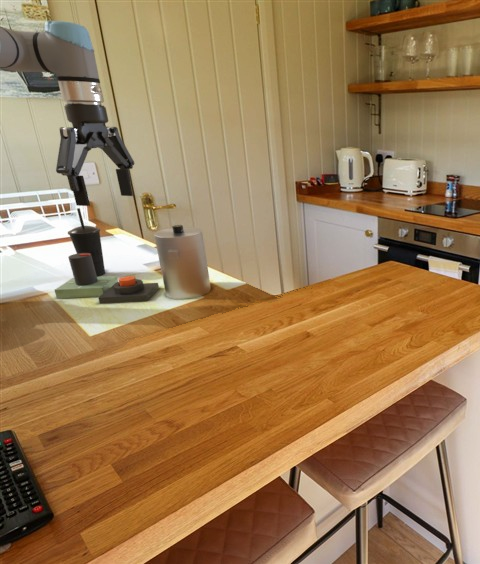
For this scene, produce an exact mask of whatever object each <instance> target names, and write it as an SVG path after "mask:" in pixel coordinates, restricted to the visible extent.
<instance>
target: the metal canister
mask: <svg viewBox="0 0 480 564" xmlns="http://www.w3.org/2000/svg"><path fill="white" fill-rule="evenodd" d="M153 235H154V241H155V246H156V252H157V257H158V262H159V266H160V270H161V276H162V282H163V288H164V291H165V296H166V297H167V298H169V299H172V300H173V299H174V300H187V299H195V298H198V297H202V296H204V295H206V294H208V293H209V292H210V291H211V290H212V285H211V280H210V274H209V273H210V272H209V267H208V260H207V253H206V248H205V242H204V235H203V229H201V228H199V227H194V226H183V225H182V224H175V225H174V224H173V225H172V226H171V227H169V228H164V229H161V230H158V231H156V232H154V234H153Z"/></svg>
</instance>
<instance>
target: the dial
mask: <svg viewBox="0 0 480 564" xmlns="http://www.w3.org/2000/svg"><path fill="white" fill-rule="evenodd" d="M68 261H69V265H70V268H71V271H72V276H73V278H74V279H75V283H76V285H90V284H93V283H96V282H97V281H98V280H97V276H96V272H95V268H94V264H93V260H92V256H91V254H90V253H78V254H77V253H73V254H71V255H68Z"/></svg>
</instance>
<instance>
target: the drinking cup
mask: <svg viewBox="0 0 480 564" xmlns="http://www.w3.org/2000/svg"><path fill="white" fill-rule="evenodd" d="M76 211H77V214H78V215H77V216H78V220H79V222H80V226H77V227H76V226H75V227H74V228H72V229H70V230H68V231H67V235H69V237H70V240H71V242H72V245H73V247H74V250H75V252H76V253H75V254H78V253H90V254H91V256H92V260H93V264H94V268H95V272H96V276H97V277H103V276H105V275H106V270H105V261H104V255H103V247H102V240H101V233H100V231H101V228H99V227H96V226H92V225H85V224H84V219H83V215H82V211H81V208H80V207H78V208H76Z"/></svg>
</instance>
